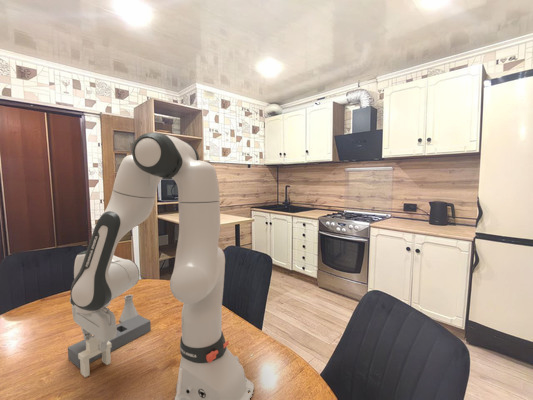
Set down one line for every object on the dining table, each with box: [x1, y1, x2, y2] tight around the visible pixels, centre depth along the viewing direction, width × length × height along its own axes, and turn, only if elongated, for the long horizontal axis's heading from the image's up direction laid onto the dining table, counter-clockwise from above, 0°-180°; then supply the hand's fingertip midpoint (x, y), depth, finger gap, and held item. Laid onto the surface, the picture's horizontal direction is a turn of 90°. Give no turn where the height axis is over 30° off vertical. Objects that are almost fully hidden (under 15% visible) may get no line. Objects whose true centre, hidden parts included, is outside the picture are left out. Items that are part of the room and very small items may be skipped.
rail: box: [67, 314, 152, 369], centre depth 90 cm, size 8×24×4 cm, turn 148°
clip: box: [78, 337, 112, 378], centre depth 78 cm, size 3×8×10 cm, turn 148°
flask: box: [118, 294, 140, 323], centre depth 106 cm, size 7×7×10 cm
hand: (95, 344), depth 78 cm, fingers open, 8 cm apart
